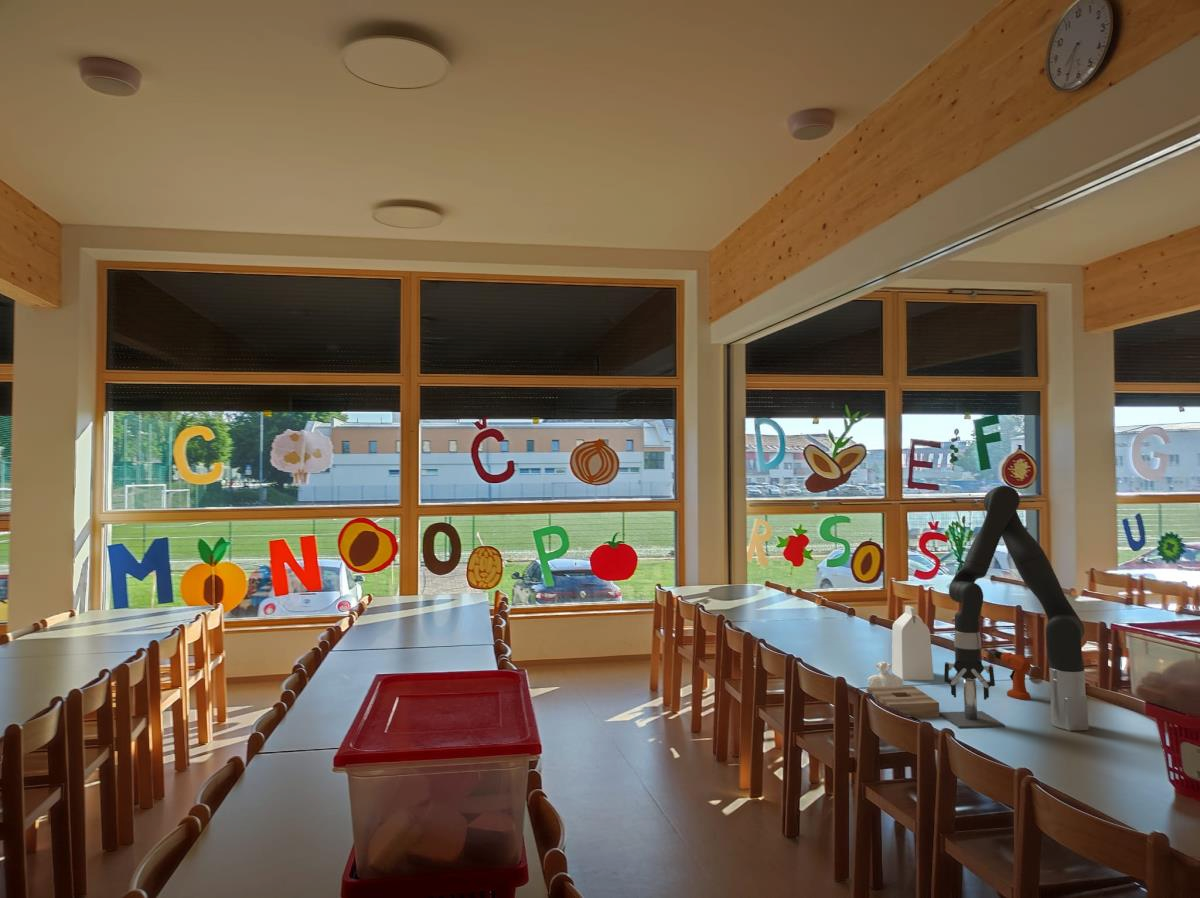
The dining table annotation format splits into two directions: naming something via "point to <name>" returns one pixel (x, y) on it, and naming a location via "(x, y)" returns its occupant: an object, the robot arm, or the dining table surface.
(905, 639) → the milk
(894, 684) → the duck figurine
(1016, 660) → the toy drill
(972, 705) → the silver metal cylinder
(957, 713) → the rubber mat
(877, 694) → the block
